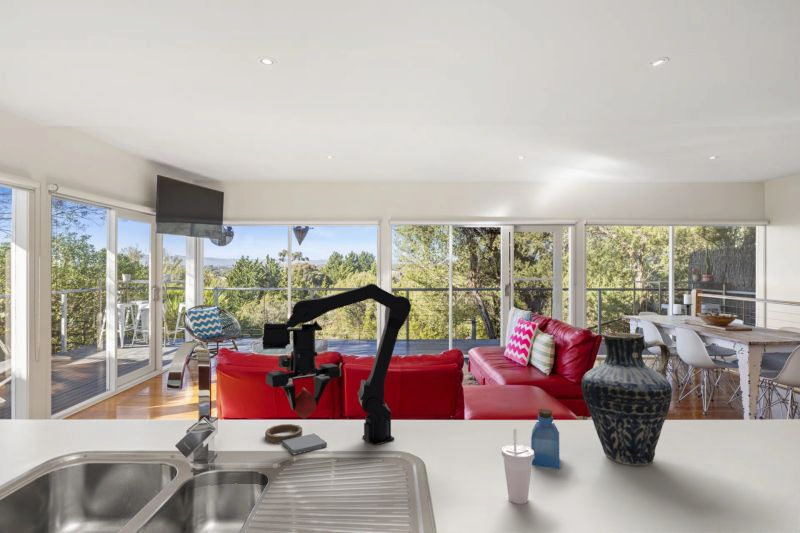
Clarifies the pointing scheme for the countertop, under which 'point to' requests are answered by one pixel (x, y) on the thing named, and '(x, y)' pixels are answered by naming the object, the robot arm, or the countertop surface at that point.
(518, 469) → the smoothie
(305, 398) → the onion
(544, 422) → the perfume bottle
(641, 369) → the jug
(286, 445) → the slate tile
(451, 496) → the countertop surface
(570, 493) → the countertop surface
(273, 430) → the ring
